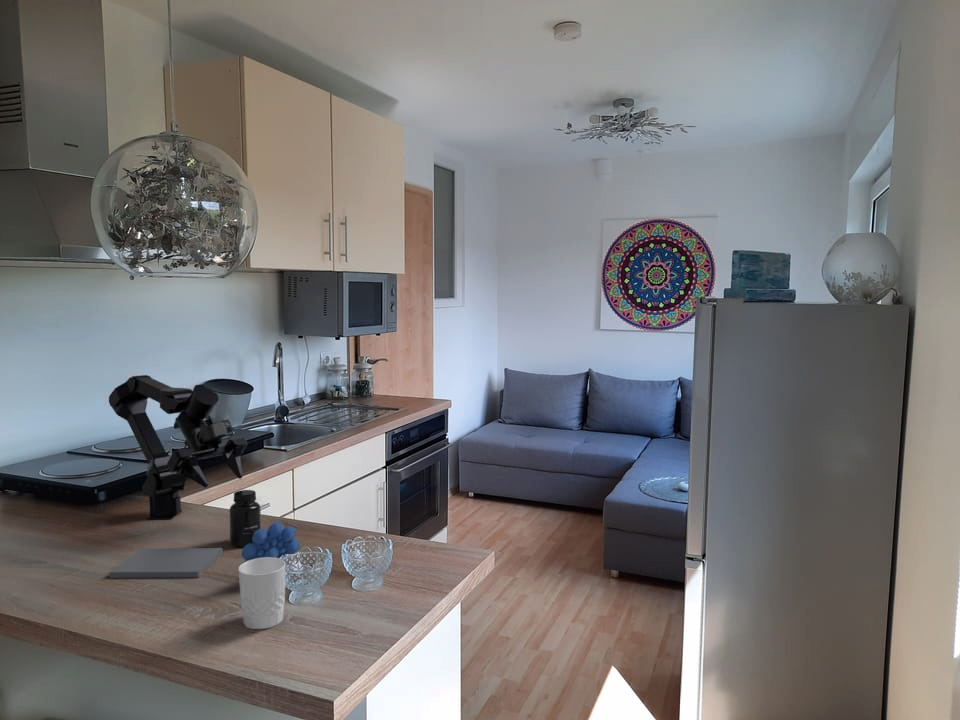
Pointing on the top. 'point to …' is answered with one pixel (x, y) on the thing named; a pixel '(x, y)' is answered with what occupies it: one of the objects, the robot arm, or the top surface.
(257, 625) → the white cup
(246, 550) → the grapes
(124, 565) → the board
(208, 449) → the robot arm
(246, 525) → the supplement bottle
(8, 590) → the top surface
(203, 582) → the top surface
